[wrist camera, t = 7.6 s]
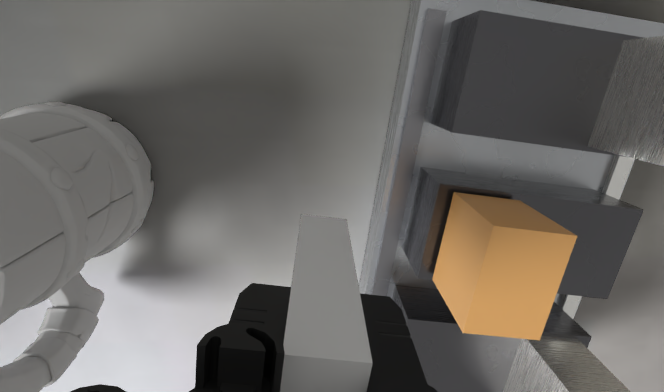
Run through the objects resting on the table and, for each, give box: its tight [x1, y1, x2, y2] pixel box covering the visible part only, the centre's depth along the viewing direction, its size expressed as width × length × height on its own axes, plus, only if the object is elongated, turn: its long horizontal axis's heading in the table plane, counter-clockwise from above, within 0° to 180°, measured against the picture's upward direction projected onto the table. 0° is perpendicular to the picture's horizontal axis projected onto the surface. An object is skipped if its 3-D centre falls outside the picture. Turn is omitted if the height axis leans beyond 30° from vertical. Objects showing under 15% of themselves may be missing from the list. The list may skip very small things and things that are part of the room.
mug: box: [0, 102, 154, 392], centre depth 15 cm, size 8×12×12 cm, turn 0°
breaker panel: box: [359, 0, 664, 392], centre depth 17 cm, size 12×20×9 cm, turn 172°
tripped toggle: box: [432, 192, 577, 340], centre depth 14 cm, size 3×4×4 cm
